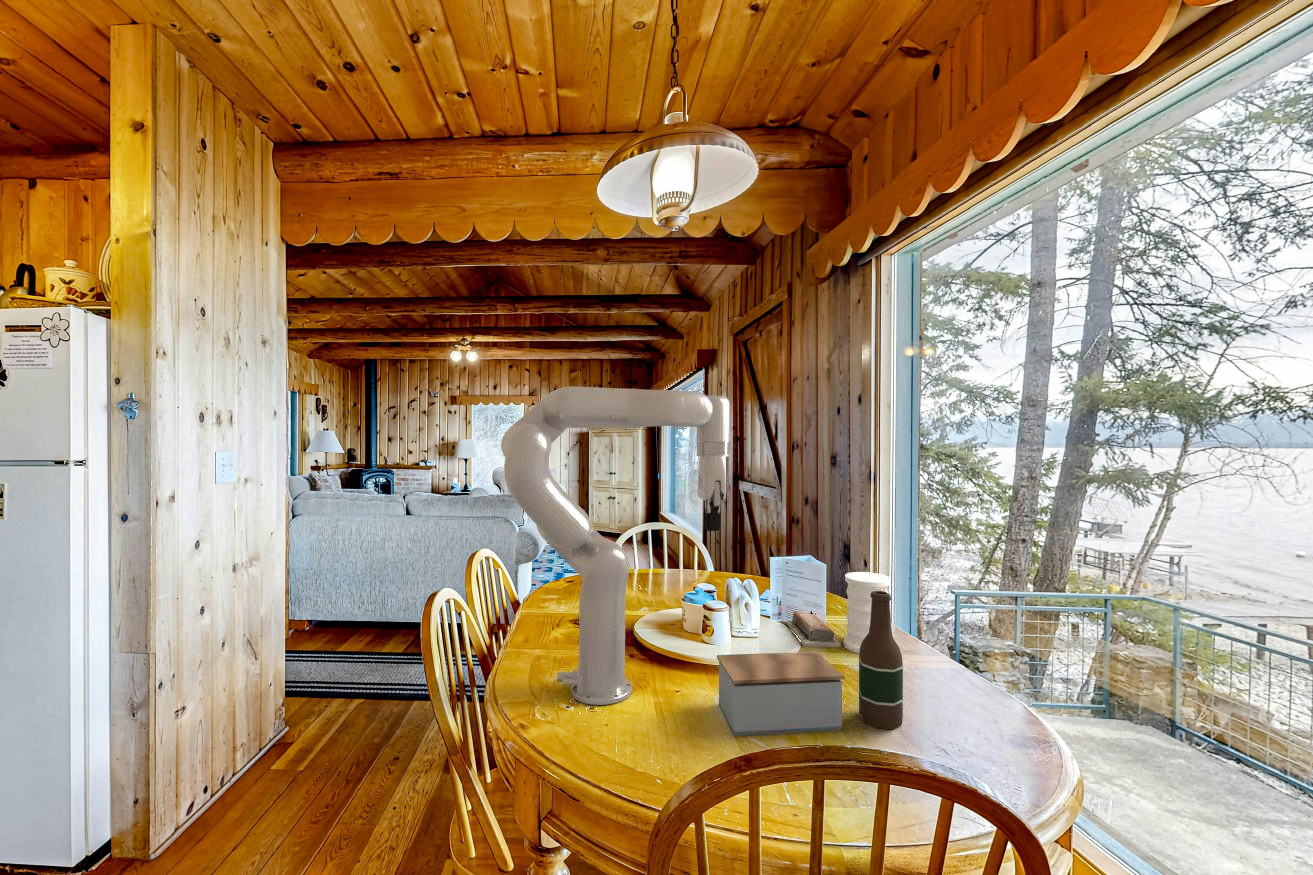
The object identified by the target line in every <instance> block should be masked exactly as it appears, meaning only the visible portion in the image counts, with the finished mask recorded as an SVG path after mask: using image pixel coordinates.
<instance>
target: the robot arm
mask: <svg viewBox="0 0 1313 875" xmlns="http://www.w3.org/2000/svg"><path fill="white" fill-rule="evenodd" d="M730 404H731V403H730V400H729V398H728V397H727V396H725V395H706V394H705V393H703V392H700V391H696V390H677V389H676V390H675V389H673V390H671V389H669V390H668V389H641V388H640V389H639V388H613V387H595V386H594V387H590V386H564V387H560V388H557V389H555V390H552V391H551V392H549V393H548V394H546V395H545V396H544V397H543V398H542V399H540V401H539V402H537V403H536V404H535V405H534V406H533V407H532V408H531V409H530V410H528V411H527V412H526V413H525V414H524V415H523V416H522V417H520V418H519V419H518V420H517V421H516V422H515V423H513V424H512V425H511V426H510V427H509V428H508V429H507V430H506V431H505V432H504V434H503V435H502V438H501V442H500V448H501V453H502V454H503V456H504V459H505V460H504V464H503V465H504V466H503V467H504V468H503V470H504V471H503V474H504V481H505V484H506V487H507V490H508V493H510V496H511V497H512V498H513V500H514V501H515V502H516V504H517V505H518V506H519V507H520V508H521V510H523V512H524V513H525V514H526V515H527V516H528V517H529V518H530V520H531V521H532V522H533V523H534V524H535V525H536V529H537V531H538V533H539V535H540V536H541V537H542V539H543V540H544V541H545V542H546V543H547V544H548V545H549V546H550V548H552V549H553V550H554V551H555V552H556V553H557V554H558V556H560V558H562V560H563V561H565V562H566V563H567V564H568V566H570V567H571V568H572V569H573V570H574V571H575V572H576V573H577V574H579V575H580V576H581V578H582V582H581V589H580V590H581V591H580V596H579V606H578V609H579V610H578V611H579V612H578V618H579V619H578V620H579V626H578V627H579V628H578V632H579V633H578V634H579V636H578V665H577V669H572V671H570V672H568V671H567V672H566V671H557V674H556V682H557V683H561V684H562V686H563V687H566V686H571V687H570V688H571V689H570V691H571V692H570V694H571V696H572V697H573V699H574V700H577V701H578V702H580V703H583V704H587V705H593V706H607V705H613V704H617V703H619V702H622V701H624V700H626V699H627V698H629V697H630V695H632V692H633V683H632V682H631V681H630V680H629V679H628V678H626V677H625V676H626V671H625V670H626V669H625V668H626V666H625V665H626V662H625V660H626V659H625V658H626V596H627V594H626V593H627V585H628V579H629V573H630V572H629V571H630V564H629V558H628V555H627V554H626V552H625V550H624V549H623V548H622V546H621V545H620V544H618V542H615V541H613V540H611V539H609V538H606V537H605V536H602V535H601V534H600V533H599V532H598V531H597V530H596V528H594V526H593V525H592V523H591V519H590V517H589V515H588V513H587V512H586V511H585V510H584V509H583V508H582V507H581V506H580V505H579V504H577V503H576V501H575V500H574V499H572V497H570V495H569V494H568V493H567V492H566V491H565V490H564V489H563V488H562V487H561V486H560V484H559V483H558V482H557V481H556V480H555V479H554V476H552V474H551V472H550V469H549V458H550V455H551V450H552V444H553V442H555V441H556V440H557V439H558V438H559V437H560V436H561V435H562V434H563V433H564V432H565V431H566V430H567V429H569V428H570V429H616V430H617V429H620V430H622V429H623V430H624V429H625V430H626V429H641V428H648V427H649V428H650V427H673V428H679V429H680V428H683V429H684V428H696V457H699V461H698V462H699V463H698V471H697V472H698V473H697V494H696V495H697V497H698V498H699V499H701V500H703V501H704V529H705V531H707V532H720V530H721V503H722V502H721V501H725V499H726V497H727V460H726V457H727V458H728V457H730V442H731V441H730V440H731V439H730V428H731V427H730V426H731V425H730V422H731V421H730V418H731V415H730V414H731V412H730V411H731V409H730V408H731V407H730Z"/></svg>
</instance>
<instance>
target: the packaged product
mask: <svg viewBox="0 0 1313 875" xmlns="http://www.w3.org/2000/svg"><path fill="white" fill-rule="evenodd" d="M799 611H800V610H796V611H793V614H792V620H787V621H786V625H787V627H788V628H789V630H790V629H791V630H792V631H793V632H794V633H795V634H796V635H797V636H798V638H799V639H800V640H801V643H800V645H801V646H802V647H804V648H841V647H842V643H841V642H840V641H839V640H838V639H837V638H836V637H835V632H834V631H833V630H832V629H831V627H829V625H828V624H827V623H826V622H824V620H823V619H822V618H821V617H820V616H819V615H818V614H817V615H818V616H817V615H814V614H811V613H806V612H799ZM791 630H790V631H791ZM792 631H791V632H792Z"/></svg>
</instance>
